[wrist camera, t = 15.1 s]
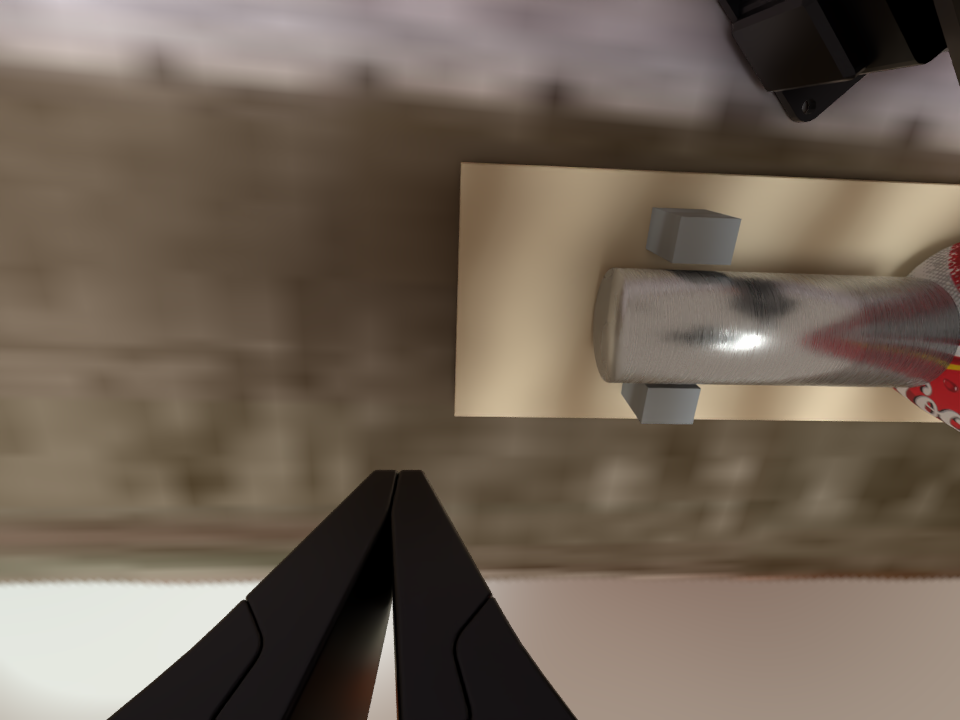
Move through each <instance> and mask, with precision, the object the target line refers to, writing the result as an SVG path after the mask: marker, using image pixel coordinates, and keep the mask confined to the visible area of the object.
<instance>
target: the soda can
mask: <svg viewBox="0 0 960 720" xmlns="http://www.w3.org/2000/svg"><path fill="white" fill-rule="evenodd" d="M906 277H918V278H925V279H928V280H931V281H934V282H935V283H937V284H939V285H940V286H942V287H943V288H944V289H945V290H946V291H947V292H948V293H949V294H950V295H951V297H952V298H953V300H954V302H955V304H956V306H957V308H958V311H959V314H960V242H959V243H956V244H954V245H952V246H949V247H947V248H945V249H943V250H941V251H939V252H937V253H936V254H934V255H932V256H931V257H929V258H928V259H926V260H925V261H924V262H922V263H921V264H920V265H918V266H917V267H916V268H915V269H914V270H913V271H911V272H910V273H909V274H908V275H907V276H906ZM893 389H894V390H896V391H897V392H899V393H900V394H901V395H903V396H904V397H905V398H907V399H908V400H910V401H911V402H912V403H914V404H915V405H917V406H918V407H919V408H921V409H922V410H924V411H926V412H927V413H929V414H931V415H933V416H934V417H936V418H938V419H939V420H941V421H943V422H944V423H946V424H948V425H950V426H951V427H953V428H955V429H956V430H958V431H960V343H959V346H958V348H957V351H956V354H955V356H954V358H953V360H952V362H951V363H950V365H949V366H948V368H947V369H946V370H945V371H944V372H943V373H942V374H941V375H940V376H938V377H937V378H936V379H934V380H933V381H931V382H929V383H927V384H925V385H922V386H918V387H913V388H893Z"/></svg>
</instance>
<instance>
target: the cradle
mask: <svg viewBox="0 0 960 720" xmlns="http://www.w3.org/2000/svg"><path fill="white" fill-rule="evenodd" d="M959 242H960V184H942V183H920V182H897V181H875V180H852V179H830V178H808V177H785V176H763V175H741V174H718V173H696V172H673V171H651V170H629V169H606V168H584V167H561V166H539V165H517V164H494V163H472V162H461V175H460V213H459V250H458V288H457V326H456V363H455V416H476V417H557V418H638V420H639V421H640V423H641V424H693V420H694V419H721V420H802V421H884V422H943V421H941V420H939V419H938V418H936V417H934V416H933V415H931V414H929V413H927V412H926V411H924V410H922V409H921V408H919V407H918V406H917V405H915V404H914V403H912V402H911V401H910V400H908V399H907V398H905V397H904V396H903V395H901V394H900V393H899V392H897V391H896V390H894V389H893V388H888V387H829V386H770V385H710V384H651V383H607V382H605V381H604V380H603V379H602V377H601V376H600V374H599V371H598V368H597V365H596V360H595V355H594V346H593V319H594V309H595V303H596V298H597V293H598V290H599V286H600V284H601V281H602V279H603V277H604V275H605V274H606V272H607V271H608V270H609V269H611V268H637V269H669V270H700V271H732V272H763V273H794V274H826V275H857V276H889V277H906V276H907V275H908V274H909V273H910V272H911V271H913V270H914V269H915V268H916V267H917V266H918V265H920V264H921V263H922V262H924V261H925V260H926V259H928V258H929V257H931V256H932V255H934V254H936V253H937V252H939V251H941V250H943V249H945V248H947V247H949V246H952V245H954V244H956V243H959Z"/></svg>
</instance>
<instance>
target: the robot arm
mask: <svg viewBox="0 0 960 720" xmlns="http://www.w3.org/2000/svg"><path fill="white" fill-rule="evenodd" d="M719 2H720V4H721V5H722V7H723V9H724V10H725V12H726V14H727V15H728V17H729V18H730V20H731V22H732V23H733V28H732V35H733V37H734V39H735V40H736V42H737V43H738V45H739V47H740V48H741V50H742V51H743V53H744V55H745V56H746V58H747V60H748V61H749V63H750V64H751V66H752V68H753V69H754V71H755V73H756V74H757V76H758V77H759V79H760V81H761V82H762V84H763V86H764V87H765V89H766V90H767V91H772V92H775V94H776V95H777V97H778V99H779V100H780V102H781V103H782V105H783V107H784V108H785V110H786V112H787V113H788V115H789V117H790V118H791V119H792V120H793V121H795V122H808V121H811V120H813V119H815V118H816V117H817V116H818V115H820V114H821V113H822V112H823V111H824V110H825V109H827V108H828V107H829V106H830V105H831V104H832V103H833V102H835V101H836V100H837V99H838V98H839V97H840V96H842V95H843V94H844V93H845V92H846V91H847V90H849V89H850V88H851V87H852V86H853V85H854V84H855V83H857V82H858V81H859V80H860V79H861V78H862V77H864V76H865V75H866V74H867V73H873V72H880V71H886V70H892V69H898V68H904V67H910V66H916V65H922V64H926V63H928V62H930V61H931V60H933V59H934V58H935V57H936V56H937V55H938V54H940V53H942V52H947V51H949V53H950V57H951V60H952V63H953V66H954V69H955V73H956V76H957V79H958V82H959V85H960V0H719ZM806 100H807V101H808V103H809V108H808V110H807V112H806V113H805V114H804V113H803V111H802V106H803V104H804V102H805V101H806ZM392 600H393V626H394V627H393V629H394V655H395V680H396V706H397V707H396V708H397V720H578V719H577V718H576V717H575V715H574V714H573V713H572V712H571V710H570V709H569V708H568V706H567V705H566V704H565V702H564V701H563V700H562V698H561V697H560V696H559V694H558V693H557V692H556V691H555V689H554V688H553V686H552V685H551V684H550V682H549V681H548V680H547V679H546V677H545V676H544V674H543V673H542V672H541V670H540V669H539V667H538V666H537V665H536V663H535V662H534V660H533V659H532V658H531V656H530V655H529V653H528V652H527V650H526V649H525V648H524V646H523V645H522V643H521V642H520V640H519V638H518V637H517V635H516V634H515V632H514V630H513V629H512V627H511V625H510V624H509V622H508V620H507V619H506V617H505V615H504V614H503V612H502V610H501V608H500V607H499V605H498V603H497V601H496V599H495V598H493V597H492V593H491V591H490V589H489V587H488V586H487V584H486V582H485V580H484V579H483V577H482V575H481V573H480V571H479V570H478V568H477V566H476V564H475V562H474V561H473V559H472V557H471V555H470V554H469V552H468V550H467V548H466V546H465V545H464V543H463V541H462V539H461V537H460V536H459V534H458V532H457V530H456V529H455V527H454V525H453V523H452V521H451V520H450V518H449V516H448V514H447V513H446V511H445V509H444V507H443V505H442V504H441V502H440V500H439V498H438V496H437V495H436V493H435V491H434V489H433V488H432V486H431V484H430V482H429V480H428V479H427V477H426V475H425V473H424V472H423V471H422V470H402V471H400V472H399V473H398V471H396V470H375V471H373V472H372V473H371V474H370V475H369V476H368V477H367V478H366V479H365V480H364V481H363V482H362V483H361V484H360V485H359V486H358V487H357V488H356V489H355V490H354V491H353V492H352V493H351V494H350V495H349V496H348V497H347V498H346V499H345V500H344V501H343V502H342V503H341V504H340V505H339V506H338V507H337V508H336V509H334V510H333V511H332V512H331V513H330V514H329V515H328V516H327V517H326V518H325V519H324V520H323V521H322V522H321V523H320V524H319V525H318V526H317V527H316V528H315V529H314V530H313V531H312V532H311V533H310V534H309V535H308V536H307V537H306V538H305V539H304V540H303V541H302V542H301V543H300V544H299V545H298V546H297V547H296V548H295V549H294V550H293V551H292V552H291V553H290V554H289V555H288V556H287V557H286V558H285V559H284V560H283V561H282V562H281V563H280V564H279V565H278V566H277V567H275V568H274V569H273V570H272V571H271V572H270V573H269V574H268V575H267V576H266V577H265V578H264V579H263V580H262V581H261V582H260V583H259V584H258V585H257V586H256V587H255V588H254V589H253V590H252V591H251V592H250V593H249V594H248V595H247V596H246V600H242V601H241V602H240V603H239V604H238V605H237V606H236V607H235V608H234V609H232V611H230V612H229V614H227V616H225V617H224V618H223V619H222V620H221V621H220V622H219V623H218V624H217V625H216V626H215V627H214V628H213V629H212V630H211V631H209V632H208V633H207V634H206V635H205V636H204V637H203V638H202V639H201V640H200V641H199V642H198V643H197V644H196V645H195V646H194V647H192V648H191V649H190V650H189V651H188V652H187V653H186V654H184V655H183V656H182V657H181V658H180V659H178V660H177V661H176V662H175V663H174V664H173V665H172V666H170V667H169V668H168V669H167V670H166V671H164V672H163V673H162V674H161V675H160V676H159V677H158V678H156V679H155V680H154V681H153V682H152V683H150V684H149V685H148V686H147V687H146V688H144V690H142V691H141V692H140V693H139V694H137V695H136V696H135V697H134V698H132V699H131V700H130V701H129V702H128V703H126V704H125V705H124V706H123V707H121V708H120V709H119V710H118V711H117V712H115V713H114V714H113V715H112V716H111V717H110V718H108V719H107V720H367V717H368V713H369V708H370V704H371V699H372V694H373V689H374V685H375V680H376V676H377V670H378V666H379V661H380V657H381V652H382V647H383V643H384V638H385V634H386V629H387V624H388V620H389V614H390V609H391V604H392Z"/></svg>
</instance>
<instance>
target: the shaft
mask: <svg viewBox="0 0 960 720" xmlns="http://www.w3.org/2000/svg"><path fill="white" fill-rule="evenodd" d="M959 343H960V314H959V311H958V308H957V306H956V304H955V302H954V300H953V298H952V297H951V295H950V294H949V293H948V292H947V291H946V290H945V289H944V288H943V287H942V286H940V285H939V284H937V283H935V282H934V281H931V280H928V279H925V278H918V277H889V276H857V275H826V274H794V273H763V272H732V271H700V270H669V269H637V268H611V269H609V270H608V271H607V272H606V274H605V275H604V277H603V279H602V281H601V284H600V286H599V290H598V293H597V298H596V303H595V309H594V319H593V346H594V355H595V360H596V365H597V368H598V371H599V374H600V376H601V377H602V379H603V380H604V381H605V382H607V383H651V384H710V385H770V386H829V387H888V388H913V387H918V386H922V385H925V384H927V383H929V382H931V381H933V380H934V379H936V378H937V377H938V376H940V375H941V374H942V373H943V372H944V371H945V370H946V369H947V368H948V366H949V365H950V363H951V362H952V360H953V358H954V356H955V354H956V351H957V348H958V346H959Z"/></svg>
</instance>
